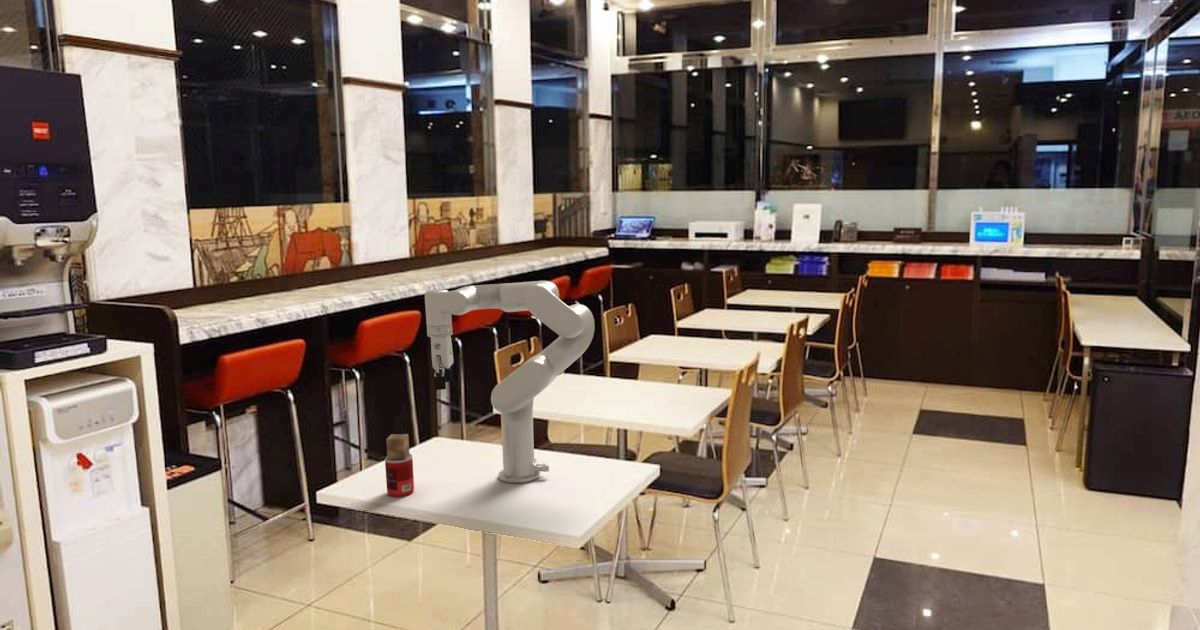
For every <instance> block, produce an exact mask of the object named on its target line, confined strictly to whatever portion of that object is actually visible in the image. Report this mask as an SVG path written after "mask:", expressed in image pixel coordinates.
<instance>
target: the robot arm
mask: <svg viewBox="0 0 1200 630" xmlns="http://www.w3.org/2000/svg"><path fill="white" fill-rule="evenodd" d="M424 305H425V306H424V307H425V319H426V322H425V323H426V334H427V337H429V338H430V348H431V364H432V368H433V369H434V376H433V378H434V390H437V391H440V390H447V383H450V382H452V379H453V378H452V368H451V367H452V365H453V364H454V352H453V351H454V350H453V342H452V337H451V336H452V335H454V333H453V322H452V321H453V320H452V315H453V316H462V315H465V314H467V313H470V312H471V311H476V310H486V309H490V310H491V309H498V310H502V311H503V312H505V313H514V312H525V311H526V312H528V311H529V312H530V313H531V314H532V315H533V316H534V317H536V318H537V319H538V320H539V321H541V322H542V323H543V324H544V325H545V326H546V327H548V328H549V329H550V330H552V331H553V332H554V333H556V334H557V335H558V337H557V338H556V339H555V340H554V341H552V342H551V343H550V344H549V345H548V346H546V347H545V348H544V349H543V350H541V351H540V352H538V353H537V354H535V355H533V356H532V357H530V358H528V360H526V361H525V362H523V363H522V364H521V365H520V366H519V367H517V368H516V369H515V370H514V371H512V372H511V373H510V374H509V375H508V376H506V377H505V378H504V379H503V380H501V381H500V382H499V383H498V384H496V385H495V386H494V387H493V389H492V391H491V395H490V401H491V405H492V408H494V409H495V410H496V411H497V412H498V413H500V414H501V419H500V420H501V440H502V441H501V444H502V445H501V446H502V467H503V469H502V470H499V472H498V479H499V480H500V481H502V482H504V483H511V484H522V483H529V482H532V481H535V480H537V479H538V478H539V477H540V475H541V472H545V473H546V472H547V473H548V472H550V465H548V464H547V463H539V462H537V458H535V448H534V446H535V445H534V444H535V443H534V399H535V397H536V396H538V395H539V394H540V393H542V392H543V391H544V390H545V389H547V387H548V386H550V384H552V383H553V381H554V380H555V379H556V378H557V377H558V376H559V375H560V374H561V373H563V372H564V371H565V370H567V368H569V367H570V366H571V365H572V364H573V363H574V362H576V361H577V360H578V359H579V358H580V357H582V355H583V354H584V353H585V352H586V351H587V349H588V348H589V346H590V344H591V343H592V340H593V338H594V334H595V329H596V328H595V318H594V315H593V313H592V311H591V310H590V308H588V307H587V306H586V305H584V304H582V303H581V304H579V303H575V304H571V305H567V304H566V303H565V302H563V301H562V300H561V299H560V291H559V288H558V286H557V285H556V283H554V282H552V281H549V280H537V281H536V280H534V281H522V282H511V283H510V282H508V283H493V284H491V283H490V284H479V285H478V284H476V285H467V286H463V287H459V288H458V289H455V290H447V289H443V288H438V289H437V288H434V289H430V290H427V291H426V292H425V293H424Z"/></svg>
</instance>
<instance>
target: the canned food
mask: <svg viewBox="0 0 1200 630" xmlns="http://www.w3.org/2000/svg"><path fill="white" fill-rule="evenodd" d="M413 460H414V459H413V455H412V454H411V453H409V455H408V456H407V457H406V459H392V460H388V457H387V456H385V457H384V464H385V466H384V467H385V479H386V480H385V483H386V493H387V495H388V496H389V497H391V498H404V496H405V497H407V496H410V495H412V494H413V493H414V491H415V478H414V464H413V463H414V461H413Z"/></svg>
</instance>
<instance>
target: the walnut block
mask: <svg viewBox="0 0 1200 630" xmlns="http://www.w3.org/2000/svg"><path fill="white" fill-rule="evenodd" d="M385 441H386V457H388V460H392V459H406V457H407V456H408V455H409V454H410V443H409V442H410V441H409V434H408V433H397V434H395V433H392V434H390V435H388V437H387V438H386V440H385Z"/></svg>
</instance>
